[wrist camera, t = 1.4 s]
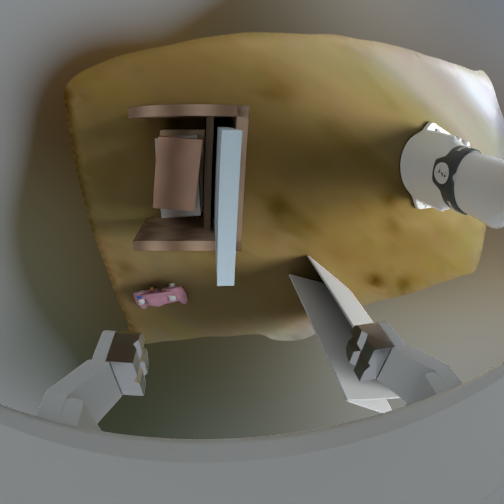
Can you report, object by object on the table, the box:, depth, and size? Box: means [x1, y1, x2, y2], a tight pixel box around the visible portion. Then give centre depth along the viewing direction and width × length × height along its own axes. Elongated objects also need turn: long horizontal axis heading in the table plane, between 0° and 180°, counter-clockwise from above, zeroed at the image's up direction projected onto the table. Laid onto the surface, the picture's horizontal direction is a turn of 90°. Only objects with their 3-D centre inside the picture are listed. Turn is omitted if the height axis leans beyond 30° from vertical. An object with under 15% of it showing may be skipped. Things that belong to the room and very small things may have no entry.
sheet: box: [214, 126, 242, 286], centre depth 35 cm, size 2×14×24 cm, turn 176°
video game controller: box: [133, 283, 187, 309], centre depth 51 cm, size 10×5×7 cm, turn 96°
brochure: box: [289, 255, 400, 413], centre depth 44 cm, size 14×6×30 cm, turn 49°
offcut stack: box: [153, 129, 205, 218], centre depth 41 cm, size 7×13×8 cm, turn 176°
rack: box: [128, 104, 249, 251], centre depth 40 cm, size 15×20×10 cm
